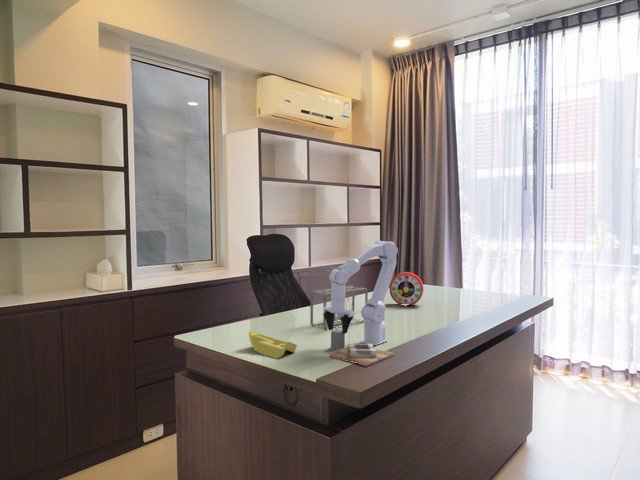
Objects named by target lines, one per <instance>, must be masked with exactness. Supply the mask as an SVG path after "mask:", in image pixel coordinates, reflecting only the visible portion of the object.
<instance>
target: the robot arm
mask: <svg viewBox="0 0 640 480" xmlns="http://www.w3.org/2000/svg"><path fill="white" fill-rule="evenodd" d="M398 251H399V249H398V247H397V245H396V243H395V242H393V241H383V240H376V241H375V242H374V243H372V244H371V245H370V246H369V247H368V248H367V249H366V250H365V251H363V252H362V253H360V255H359V256H357V258H348V259H346V262H345V263H343V264H342V265H339V266H338V268H335V269H333V270H331V271H330V274H329V275H328V279H329V281H330V287H331V288H330V289H331V291H330V292H331V295H330V301H331V303H330V306H326V307H323V310H322V311H323V312H325V313H324V314H322V317H323V316H324V317H325V319H326V322H327V324H326V325H327V328H328V329H329V330H328V331H333V330H334V329H333V327H334V324H335V323H334V317H335V314H340V315H344V316H342V317H341V321H340V322H341V325H342V327H341V330H342V332H343V334H347V333H348V330H349V327H350V325H349V324H350V323H352V320H354V319H353V318H354V317H353V312H352V311H349V310H350V309H347V308H346V293H345V290H346V289H345V286H346V284H347V282H348V281H349V278H350V277H352V276H353V275H354V274H355V273H357V272H359V271H360V269H361V266H362V265H364V264H365V263H366V262H368V261H369V260H370V259H371V260H372V259H373V258H374V257H377V258H378V259H379V260H380V261H381V263H382V265H381V268H380V271H379V273H378V278H377V280H376V283H375V285H374V289H373V291H372V294H371V297H370V298H368V301H367V302H366V304H364V305H363V307H362V309H361V311H360V312H361V313H360V314H361V316H362V317H361V318H363V320H364V322H363V323H364V327H363V329H364V330H363V331H364V332H363V335H364V336H363V340H360V341H359V343H360V342H361V343H360V344H364V343H366V344H373V345H376V346H378V345H377V344H379V345H381V344H380V343H382V344H384V343H386V342H385V341H387V342H388V340H386V330H387V328H386V327H387V326H386V325H385V322H383V321H384V320H385V318H386V317H385V313H386V305H385V304H384V301H385V299H386V295H387V292H388V289H389V288H390V283H391V281H392V278H393V274H394V272H395V269H396V267H397V254H398ZM383 342H384V343H383Z"/></svg>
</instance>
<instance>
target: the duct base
mask: <svg viewBox="0 0 640 480" xmlns="http://www.w3.org/2000/svg"><path fill="white" fill-rule="evenodd" d="M394 353H395V352H390V351H387V350H382V349H380V348H379V349H378V348H375V346H373V344H364V343H348V347H345V348H342V349H339V350H336V351H333V352H330V353H329V354H328V356H329V357H330V356H331V358H334V357H335V358H334V359H337V358H339V359H338V360H341V359H344V360H348V361H353V362H361V363H363V362H364V363H365V364H369V363H371V362H374V361H377V360H380V359H382V358H385V357H387V356H390V355H392V354H394ZM394 355H395V354H394ZM344 360H343V361H344ZM348 361H347V362H348ZM366 362H367V363H366Z"/></svg>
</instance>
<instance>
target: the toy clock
mask: <svg viewBox="0 0 640 480" xmlns="http://www.w3.org/2000/svg"><path fill="white" fill-rule="evenodd" d="M392 278H393V279H391V281H390V284H389V287H388V289H389V294H390V297H391V299H392V300H393V301H394V302H395V303H396V304H398V305H400V304H409V305H411V306H414V305H415V304H417V303H418V302H419V301H420V299H421V298H422V296H423V295H424V294H423V293H424V284H423V281H422V279H421V278H420V277H419V275H417V274H415V273H413V272H410V271H404V272H400V273H398V274H396V275H395V276H394V277H392Z"/></svg>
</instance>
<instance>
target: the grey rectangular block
mask: <svg viewBox="0 0 640 480" xmlns="http://www.w3.org/2000/svg"><path fill="white" fill-rule="evenodd" d="M345 334H346V333H345ZM345 334H343V332H342V329H339V328H336V329H333V330H330V348H331V349H333V348H334V349H333V350H337V349H339V350H342V349H345V348H346V346H345V344H346V342H345V341H346V337H345V336H346V335H345ZM344 347H345V348H344ZM341 348H342V349H341Z"/></svg>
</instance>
